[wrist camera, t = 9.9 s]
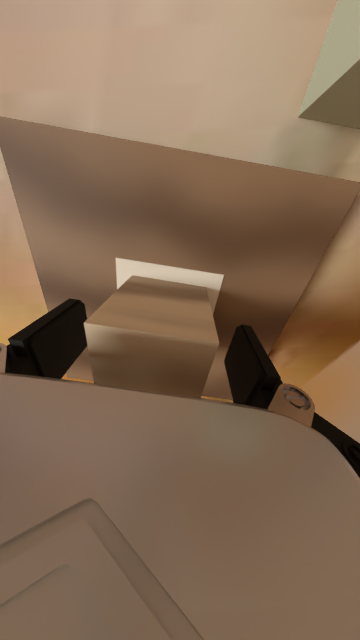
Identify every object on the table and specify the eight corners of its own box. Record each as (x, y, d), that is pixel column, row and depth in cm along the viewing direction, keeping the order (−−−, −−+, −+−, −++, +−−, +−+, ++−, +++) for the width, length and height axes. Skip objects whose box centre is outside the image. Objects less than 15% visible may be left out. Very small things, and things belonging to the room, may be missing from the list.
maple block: (132, 275, 11) (83, 322, 6) (206, 287, 11) (219, 343, 6) (131, 335, 14) (97, 404, 9) (192, 344, 14) (193, 417, 9)
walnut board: (26, 133, 10) (-12, 113, 8) (334, 189, 10) (365, 182, 8) (78, 362, 19) (66, 378, 17) (237, 385, 19) (242, 402, 18)
